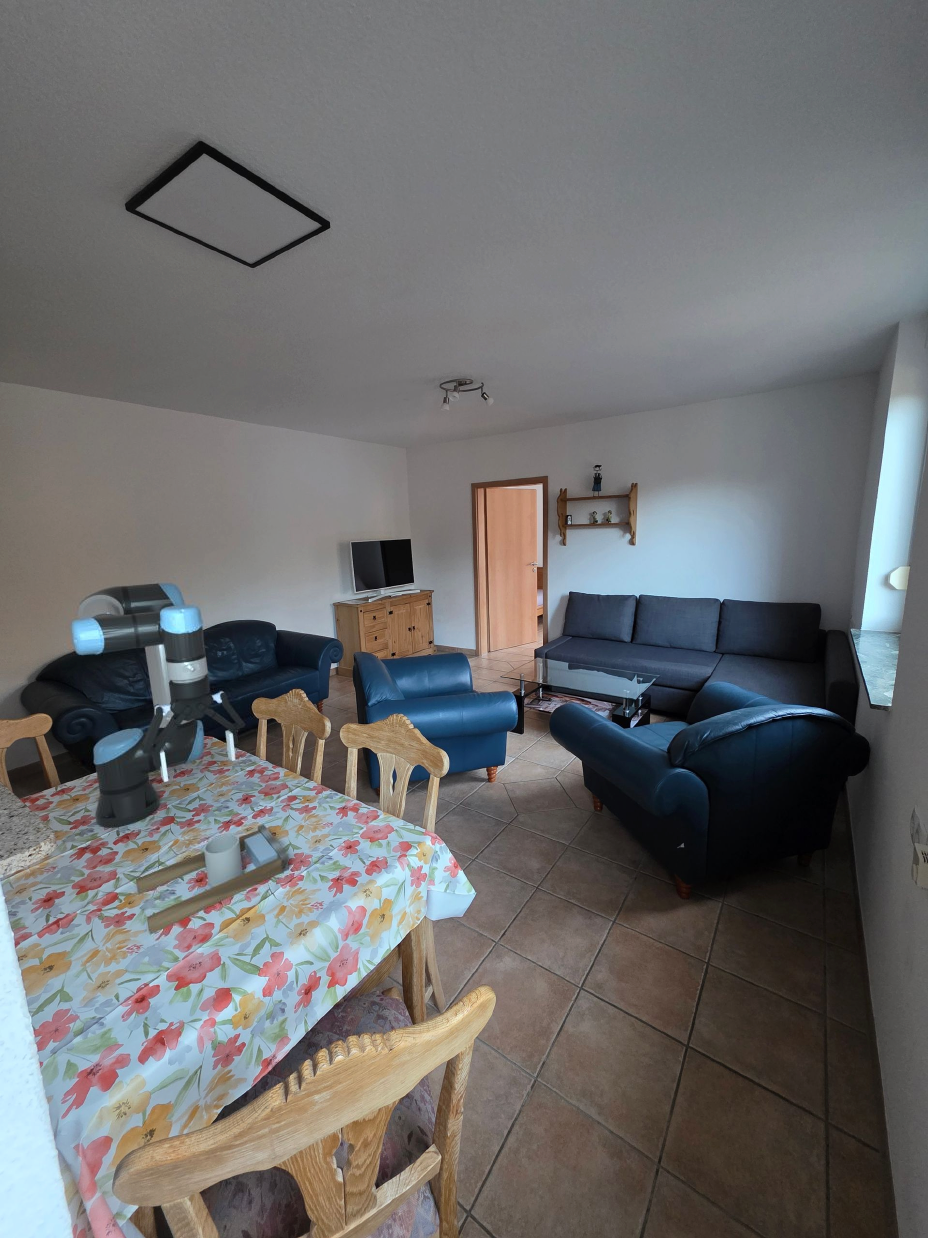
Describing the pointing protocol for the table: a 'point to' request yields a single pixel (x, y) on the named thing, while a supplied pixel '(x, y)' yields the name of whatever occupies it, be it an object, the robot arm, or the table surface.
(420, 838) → the table surface
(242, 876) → the channel
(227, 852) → the cup
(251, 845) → the block
